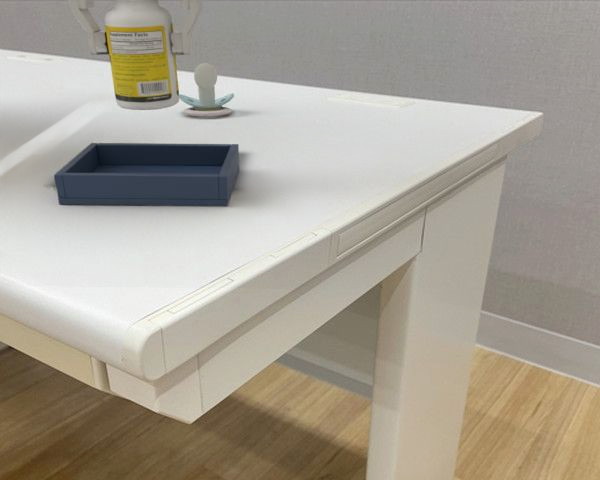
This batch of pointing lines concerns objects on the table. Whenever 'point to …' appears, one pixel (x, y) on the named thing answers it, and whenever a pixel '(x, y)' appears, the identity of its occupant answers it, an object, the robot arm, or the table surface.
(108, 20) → the supplement bottle
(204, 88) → the pacifier
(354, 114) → the table surface
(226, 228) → the table surface
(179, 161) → the tray
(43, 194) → the table surface
